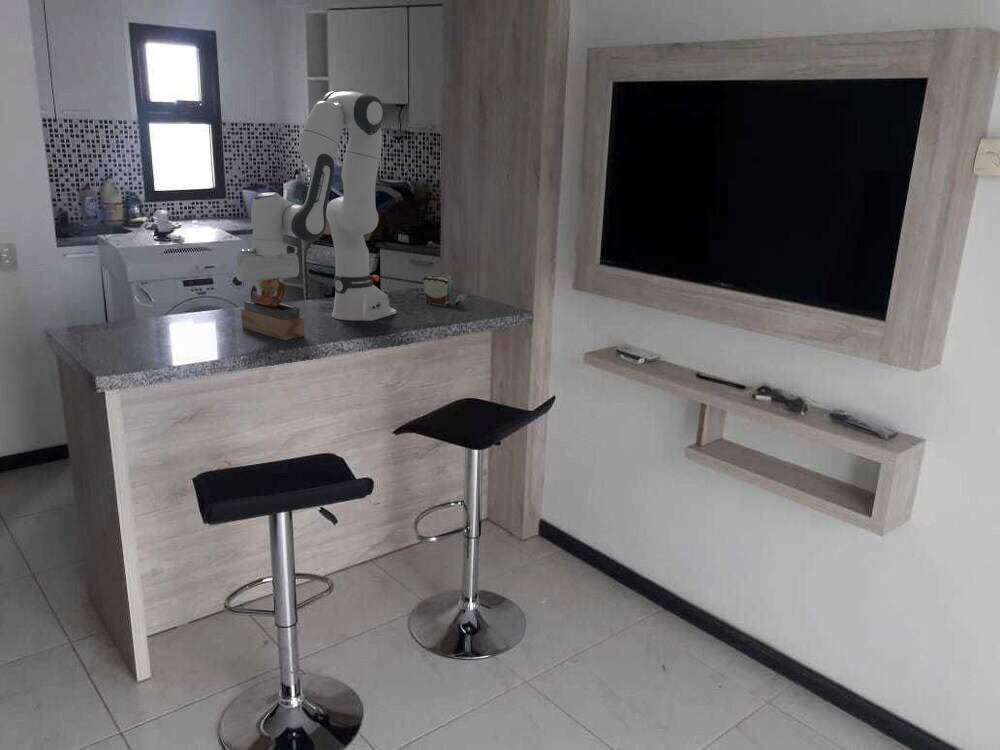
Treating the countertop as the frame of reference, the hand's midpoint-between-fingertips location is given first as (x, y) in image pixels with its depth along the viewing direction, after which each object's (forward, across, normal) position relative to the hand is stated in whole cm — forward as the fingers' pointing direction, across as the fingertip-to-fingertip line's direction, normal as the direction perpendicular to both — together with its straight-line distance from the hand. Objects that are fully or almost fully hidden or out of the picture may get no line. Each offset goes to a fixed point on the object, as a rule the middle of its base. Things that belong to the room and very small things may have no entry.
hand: (268, 294), depth 244 cm
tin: (+4, -2, 0) cm, 4 cm away
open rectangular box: (+12, +1, 0) cm, 12 cm away
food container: (+10, +71, -4) cm, 72 cm away
